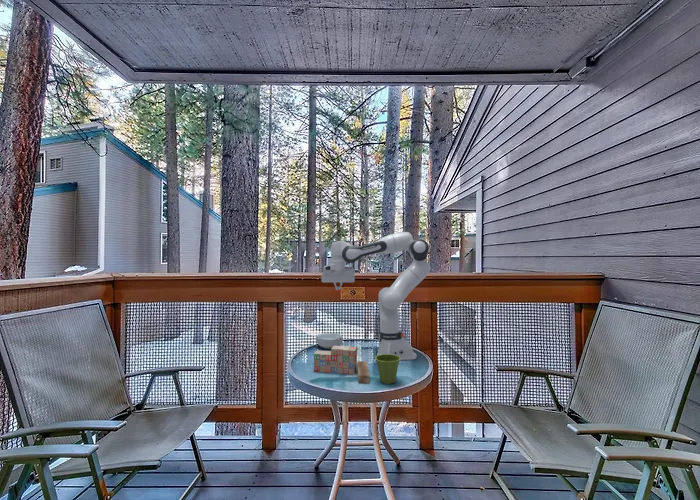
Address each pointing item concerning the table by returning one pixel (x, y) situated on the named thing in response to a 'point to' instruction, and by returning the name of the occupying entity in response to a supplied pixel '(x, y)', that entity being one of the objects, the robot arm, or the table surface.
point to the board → (362, 372)
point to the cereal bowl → (328, 340)
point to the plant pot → (387, 367)
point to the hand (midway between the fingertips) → (338, 289)
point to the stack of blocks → (336, 360)
